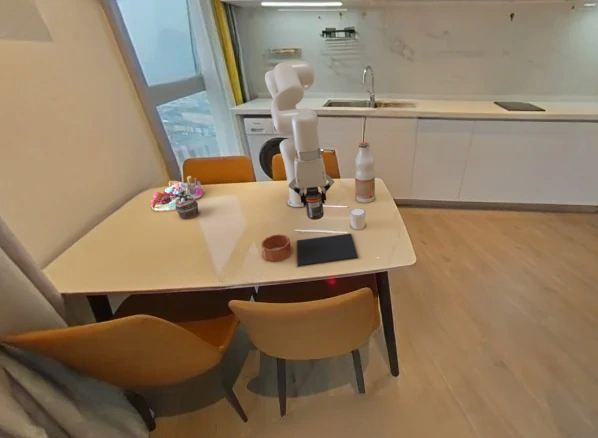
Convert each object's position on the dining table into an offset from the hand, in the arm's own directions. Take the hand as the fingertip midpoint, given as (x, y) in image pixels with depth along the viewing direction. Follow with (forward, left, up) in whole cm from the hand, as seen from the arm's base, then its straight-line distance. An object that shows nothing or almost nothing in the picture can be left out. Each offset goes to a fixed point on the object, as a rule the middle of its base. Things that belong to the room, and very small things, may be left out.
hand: (314, 202), depth 111 cm
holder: (-2, -16, -21) cm, 26 cm away
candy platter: (-61, -68, -21) cm, 94 cm away
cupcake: (-42, -58, -21) cm, 75 cm away
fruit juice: (-38, +26, -21) cm, 50 cm away
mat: (0, +3, -21) cm, 21 cm away
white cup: (-14, +18, -21) cm, 30 cm away
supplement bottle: (0, 0, -6) cm, 6 cm away
